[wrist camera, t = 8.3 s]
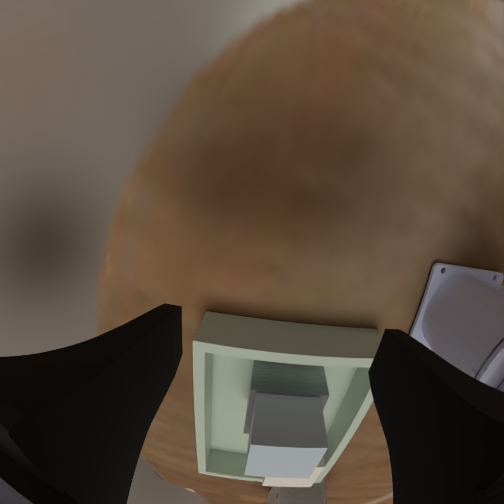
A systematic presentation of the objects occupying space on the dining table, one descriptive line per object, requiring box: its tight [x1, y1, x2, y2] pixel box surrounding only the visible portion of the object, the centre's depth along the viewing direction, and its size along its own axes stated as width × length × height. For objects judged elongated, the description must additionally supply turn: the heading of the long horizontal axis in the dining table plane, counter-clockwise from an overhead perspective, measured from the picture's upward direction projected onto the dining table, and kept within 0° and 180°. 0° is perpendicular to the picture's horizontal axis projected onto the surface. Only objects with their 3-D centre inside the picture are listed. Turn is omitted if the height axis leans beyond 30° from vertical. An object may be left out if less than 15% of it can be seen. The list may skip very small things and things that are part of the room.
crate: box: [193, 311, 382, 483], centre depth 22 cm, size 14×20×4 cm
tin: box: [243, 360, 329, 434], centre depth 20 cm, size 6×6×4 cm
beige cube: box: [262, 455, 325, 487], centre depth 22 cm, size 5×5×5 cm
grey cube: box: [244, 393, 328, 478], centre depth 16 cm, size 4×4×4 cm
